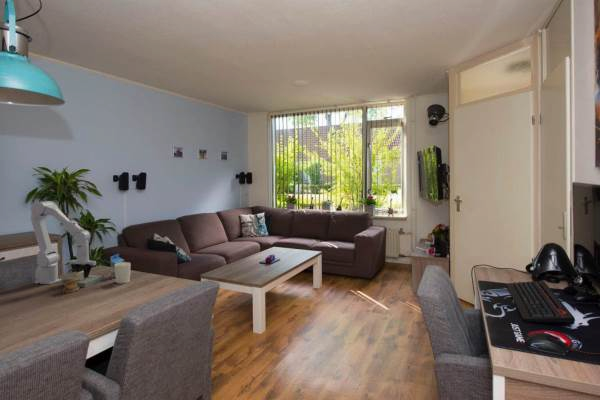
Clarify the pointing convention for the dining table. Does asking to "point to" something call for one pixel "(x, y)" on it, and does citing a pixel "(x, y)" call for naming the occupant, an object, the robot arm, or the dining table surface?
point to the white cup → (122, 272)
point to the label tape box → (115, 261)
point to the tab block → (81, 276)
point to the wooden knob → (70, 284)
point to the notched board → (88, 281)
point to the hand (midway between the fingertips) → (83, 277)
